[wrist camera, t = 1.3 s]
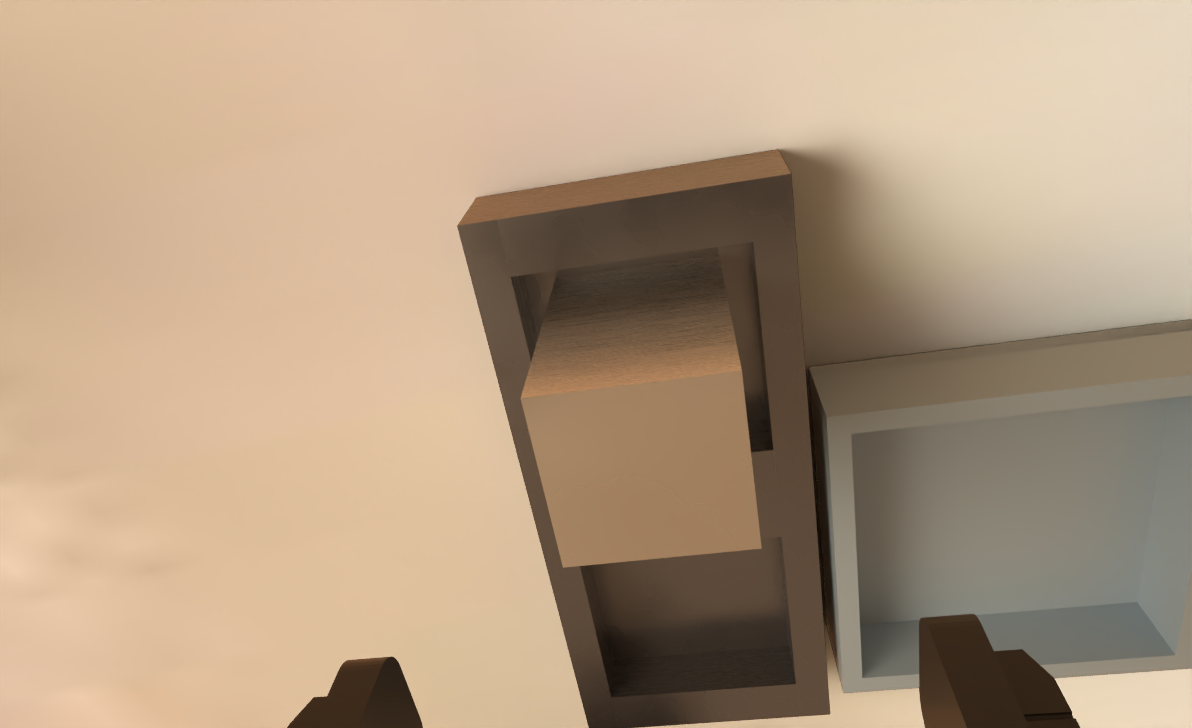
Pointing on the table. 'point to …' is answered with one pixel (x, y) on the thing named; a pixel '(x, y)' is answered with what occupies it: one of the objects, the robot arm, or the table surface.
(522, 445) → the grey compartment tray
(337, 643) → the table surface
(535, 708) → the table surface
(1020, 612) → the tray
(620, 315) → the brown rectangular block
